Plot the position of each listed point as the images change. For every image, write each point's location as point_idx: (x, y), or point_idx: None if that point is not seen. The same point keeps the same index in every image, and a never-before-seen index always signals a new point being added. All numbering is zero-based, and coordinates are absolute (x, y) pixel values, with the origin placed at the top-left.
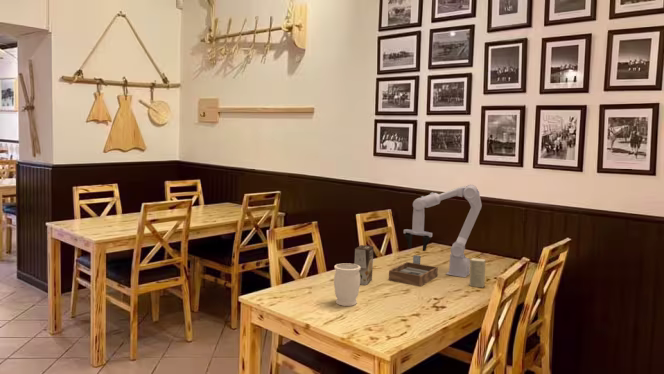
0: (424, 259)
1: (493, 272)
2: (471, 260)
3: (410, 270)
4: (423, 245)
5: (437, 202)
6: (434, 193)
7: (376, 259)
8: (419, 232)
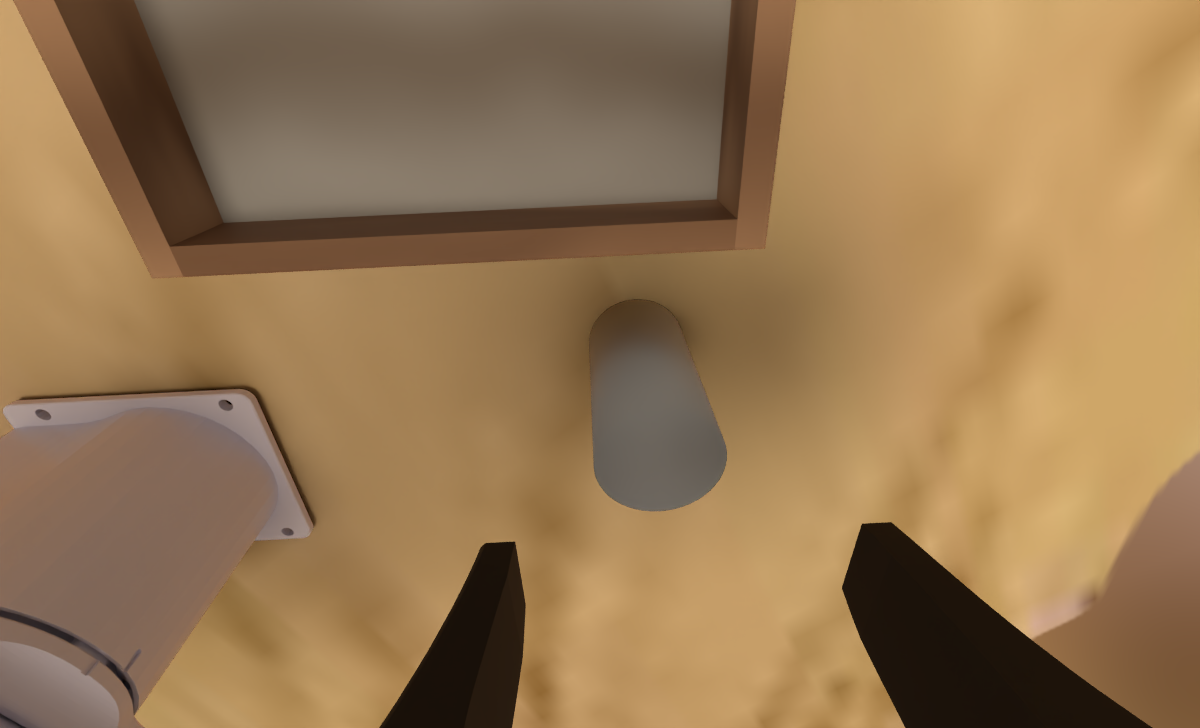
0: (720, 670)
1: None
2: None
3: (583, 7)
4: (460, 672)
5: None
6: None
7: (1196, 436)
8: None
